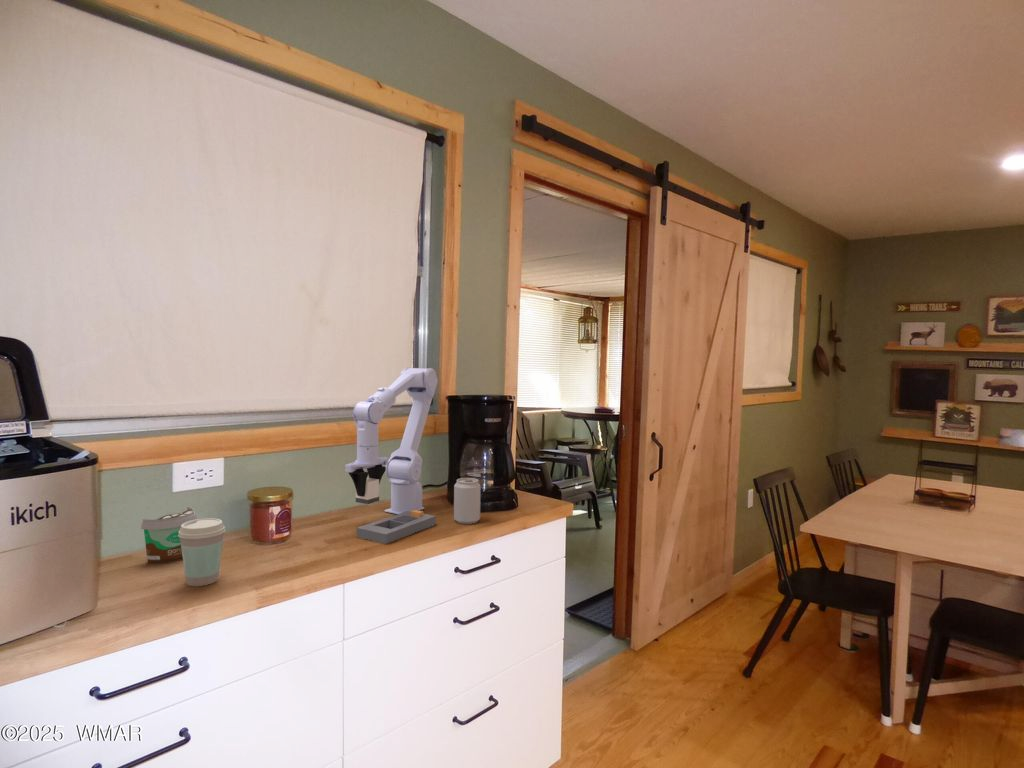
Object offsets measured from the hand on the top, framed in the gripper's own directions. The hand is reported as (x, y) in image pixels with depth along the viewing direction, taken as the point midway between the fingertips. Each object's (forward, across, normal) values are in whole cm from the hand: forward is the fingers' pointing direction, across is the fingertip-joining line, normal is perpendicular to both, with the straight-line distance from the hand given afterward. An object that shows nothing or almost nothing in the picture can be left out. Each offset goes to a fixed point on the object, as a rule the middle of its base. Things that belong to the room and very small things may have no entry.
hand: (367, 494), depth 161 cm
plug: (+2, 0, 0) cm, 2 cm away
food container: (+9, +43, -17) cm, 47 cm away
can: (+9, -18, +21) cm, 29 cm away
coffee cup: (+9, +48, +1) cm, 49 cm away
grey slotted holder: (+8, 0, +11) cm, 14 cm away
